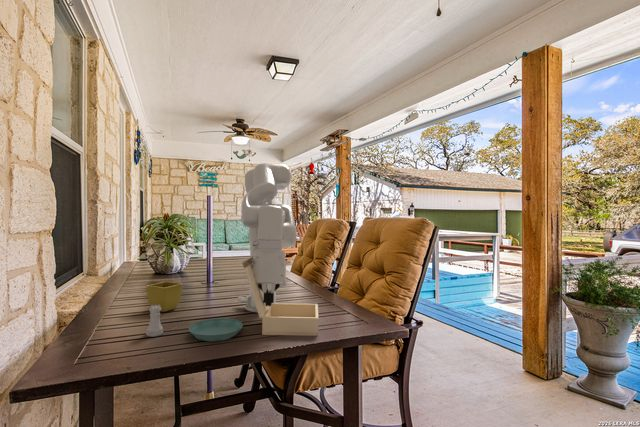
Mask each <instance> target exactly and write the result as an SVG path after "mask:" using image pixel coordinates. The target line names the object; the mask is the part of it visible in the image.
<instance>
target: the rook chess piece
mask: <svg viewBox="0 0 640 427" xmlns="http://www.w3.org/2000/svg"><path fill="white" fill-rule="evenodd" d="M149 306H150V307H149V308H148V309H149V310H148V311H149V312H150V314H149V317H150V319H149V324H148V326H147V328H146V333H145V335H146V336H147V337H148V338H149V337H150V338H151V337H152V338H153V337H154V338H155V337H160V336H161V335H163V334H164V331H163V330H164V327H163V326H162V324H161V317H160V316H161V313H160V312H162V311H161V309H162V308H161V307H160V305H158V306H156V305H154V307H153V305H152V306H151V305H149Z"/></svg>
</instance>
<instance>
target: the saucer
mask: <svg viewBox="0 0 640 427" xmlns="http://www.w3.org/2000/svg"><path fill="white" fill-rule="evenodd" d="M243 327H244V324H243V322H242V321H241V320H238V319H234V318H226V317H225V318H223V317H222V318H221V317H219V318H209V319H203V320H201V321H198V322H195V323H193V324H191V325H190V326H189V328H188V331H189V333H190V334H191V335H193V336H194V338H196V339H197V340H199V341H205V342H219V341H220V342H221V341H225V340H228V339H231V338H233V337H235V336H236V335H237V334H238V333H240V331H241V330H242V328H243Z"/></svg>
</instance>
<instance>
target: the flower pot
mask: <svg viewBox="0 0 640 427" xmlns="http://www.w3.org/2000/svg"><path fill="white" fill-rule="evenodd" d="M183 285H184V283H181V282H170V281H162V282H161V281H160V282H156V283H152V284H148V285H146V286H145V287H146V295H147V300H148V304H149V306H152V305H153V307H154V305H156V306H158V305H160V307H161V308H162V309H161V311H160V312H162V313H163V312H164V313H165V312H169V311H172V310H174V309H176V308H177V306H178V305H179V303H180V302H181V299H182V293H183Z"/></svg>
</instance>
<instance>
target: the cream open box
mask: <svg viewBox="0 0 640 427" xmlns="http://www.w3.org/2000/svg"><path fill="white" fill-rule="evenodd" d="M261 319H262V320H261V321H262V323H261V324H262V325H261V328H262V330H261V332H262V333H261V335H264V336H314V337H315V336H319V305H318V303H290V302H289V303H281V302H276V303H272V305H271V306H268V307H267V309H266V311H265V313H264V315H263V317H262V318H261Z"/></svg>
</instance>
